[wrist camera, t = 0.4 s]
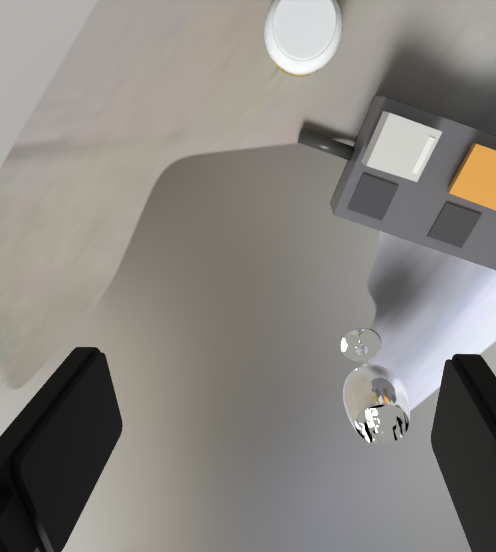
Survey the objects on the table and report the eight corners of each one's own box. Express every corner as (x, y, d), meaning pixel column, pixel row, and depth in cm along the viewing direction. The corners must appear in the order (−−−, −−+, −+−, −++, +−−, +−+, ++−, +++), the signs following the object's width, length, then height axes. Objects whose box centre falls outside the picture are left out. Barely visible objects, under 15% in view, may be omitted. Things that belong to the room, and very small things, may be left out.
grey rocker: (383, 110, 30) (390, 112, 29) (434, 129, 31) (443, 131, 30) (360, 162, 32) (366, 166, 31) (410, 178, 33) (417, 182, 32)
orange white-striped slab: (472, 142, 31) (476, 143, 30) (532, 163, 30) (538, 165, 29) (446, 190, 33) (449, 193, 32) (502, 211, 32) (506, 214, 31)
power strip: (320, 76, 34) (323, 74, 30) (585, 170, 35) (623, 180, 31) (281, 186, 38) (279, 197, 34) (518, 268, 39) (544, 287, 35)
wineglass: (358, 373, 47) (378, 458, 36) (324, 344, 46) (333, 423, 35) (397, 344, 45) (431, 426, 34) (362, 313, 43) (385, 387, 32)
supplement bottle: (271, 1, 32) (263, -32, 24) (338, 3, 32) (355, -30, 23) (267, 75, 35) (258, 70, 26) (329, 78, 34) (341, 73, 25)
